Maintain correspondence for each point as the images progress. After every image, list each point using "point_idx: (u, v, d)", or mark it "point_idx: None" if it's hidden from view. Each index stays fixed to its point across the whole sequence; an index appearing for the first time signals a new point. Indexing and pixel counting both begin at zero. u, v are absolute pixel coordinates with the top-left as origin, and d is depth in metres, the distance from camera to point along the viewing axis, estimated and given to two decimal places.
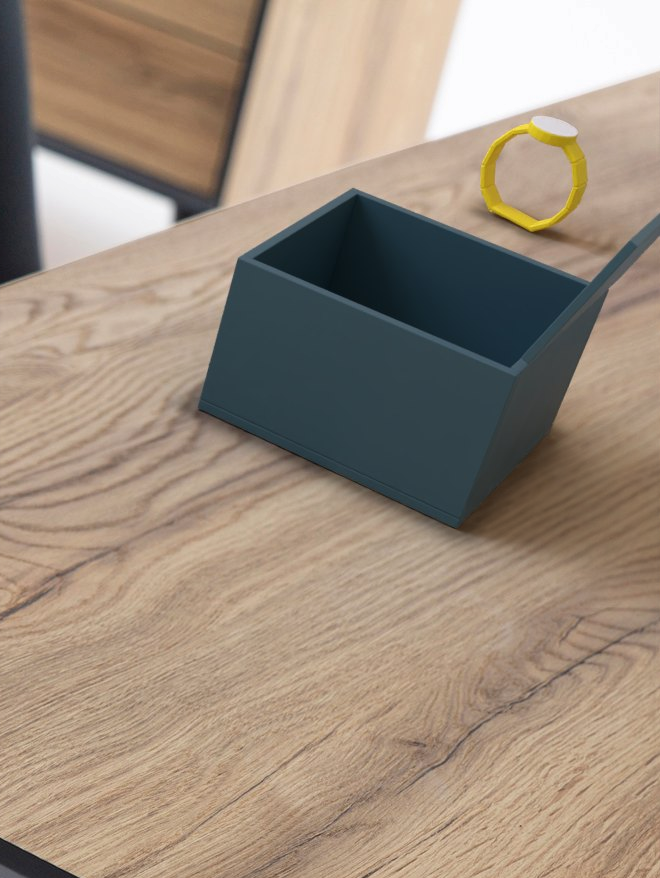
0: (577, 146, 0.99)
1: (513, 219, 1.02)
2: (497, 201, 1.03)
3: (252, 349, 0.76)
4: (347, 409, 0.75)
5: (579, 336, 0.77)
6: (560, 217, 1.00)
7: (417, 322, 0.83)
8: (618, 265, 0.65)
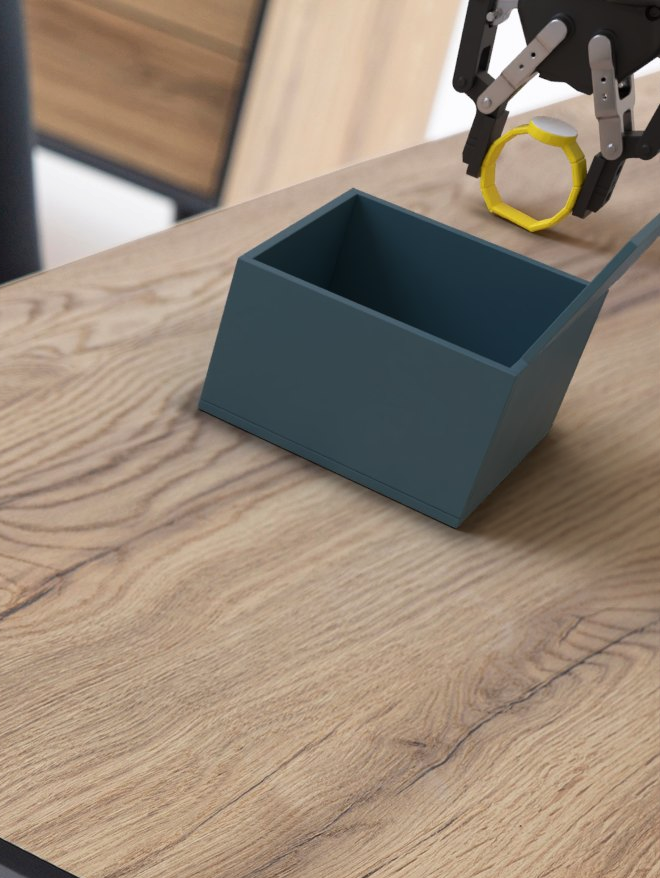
0: (577, 146, 0.99)
1: (513, 219, 1.02)
2: (497, 201, 1.03)
3: (252, 349, 0.76)
4: (347, 409, 0.75)
5: (579, 336, 0.77)
6: (560, 217, 1.00)
7: (417, 322, 0.83)
8: (618, 265, 0.65)
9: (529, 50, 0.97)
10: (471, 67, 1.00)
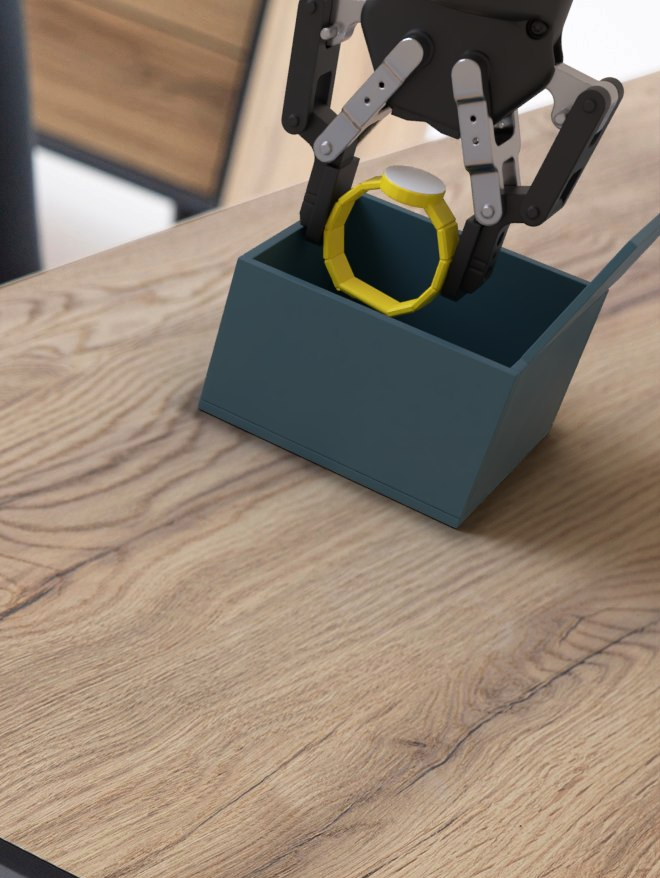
0: (445, 206, 0.74)
1: (366, 301, 0.77)
2: (347, 276, 0.78)
3: (252, 349, 0.76)
4: (347, 409, 0.75)
5: (579, 336, 0.77)
6: (425, 300, 0.75)
7: (417, 322, 0.83)
8: (618, 265, 0.65)
9: (376, 79, 0.72)
10: (304, 101, 0.75)
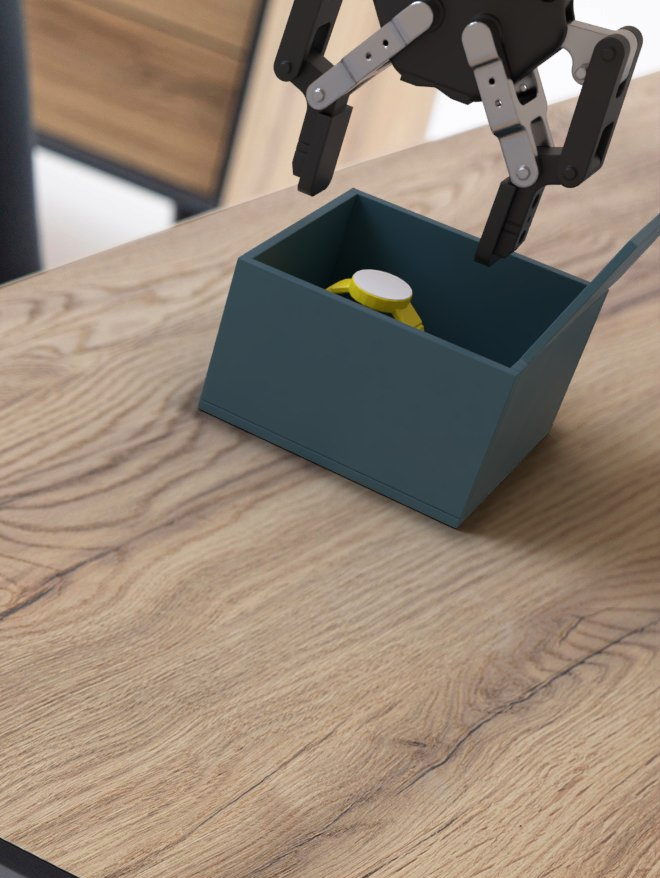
0: (412, 310, 0.77)
1: None
2: None
3: (252, 349, 0.76)
4: (347, 409, 0.75)
5: (579, 336, 0.77)
6: None
7: None
8: (618, 265, 0.65)
9: (381, 36, 0.71)
10: (300, 49, 0.74)
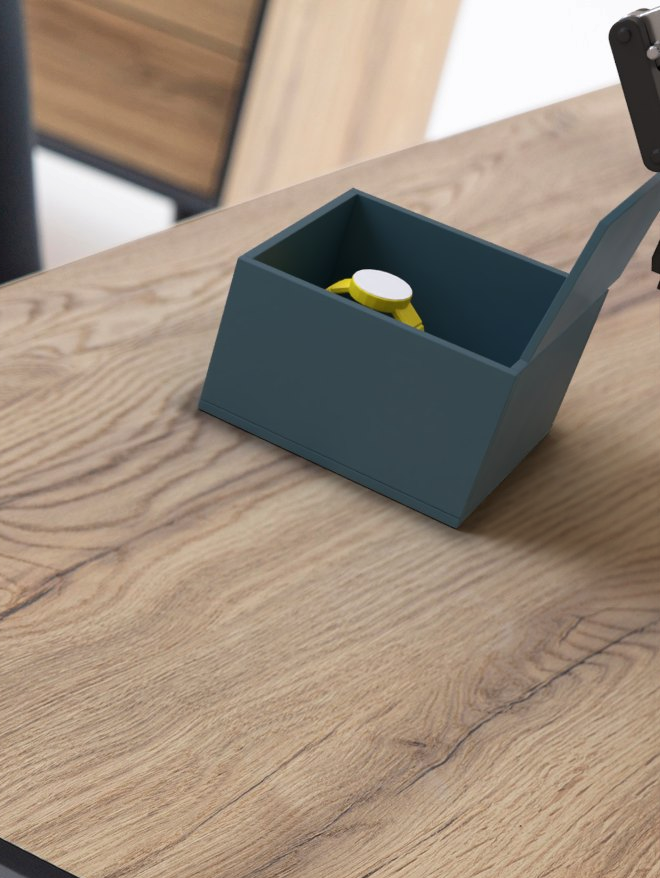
0: (412, 310, 0.77)
1: None
2: None
3: (252, 349, 0.76)
4: (347, 409, 0.75)
5: (579, 336, 0.77)
6: None
7: None
8: (594, 247, 0.66)
9: None
10: None
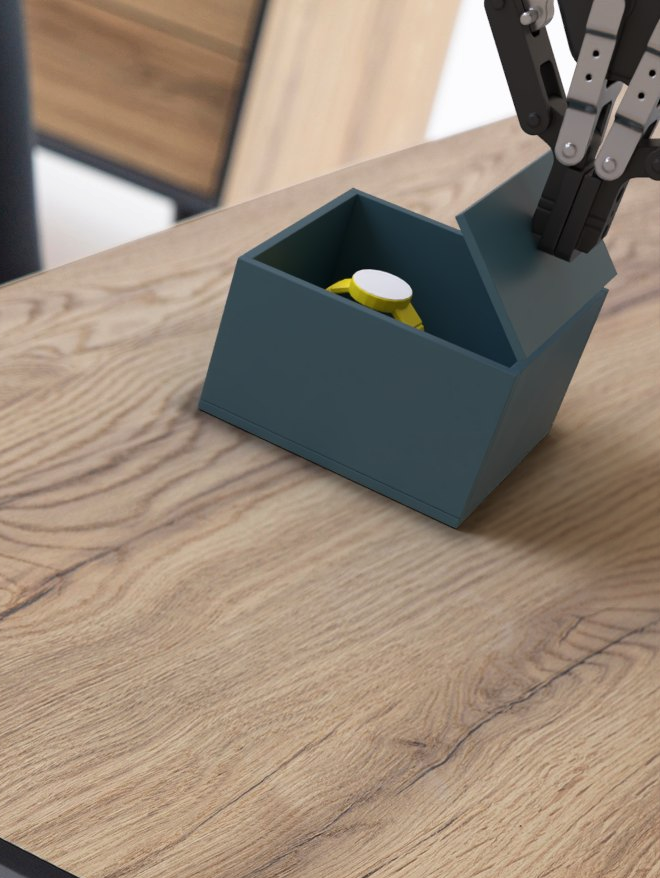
0: (412, 310, 0.77)
1: None
2: None
3: (252, 349, 0.76)
4: (347, 409, 0.75)
5: (579, 336, 0.77)
6: None
7: None
8: (472, 236, 0.68)
9: (587, 51, 0.67)
10: (535, 94, 0.69)
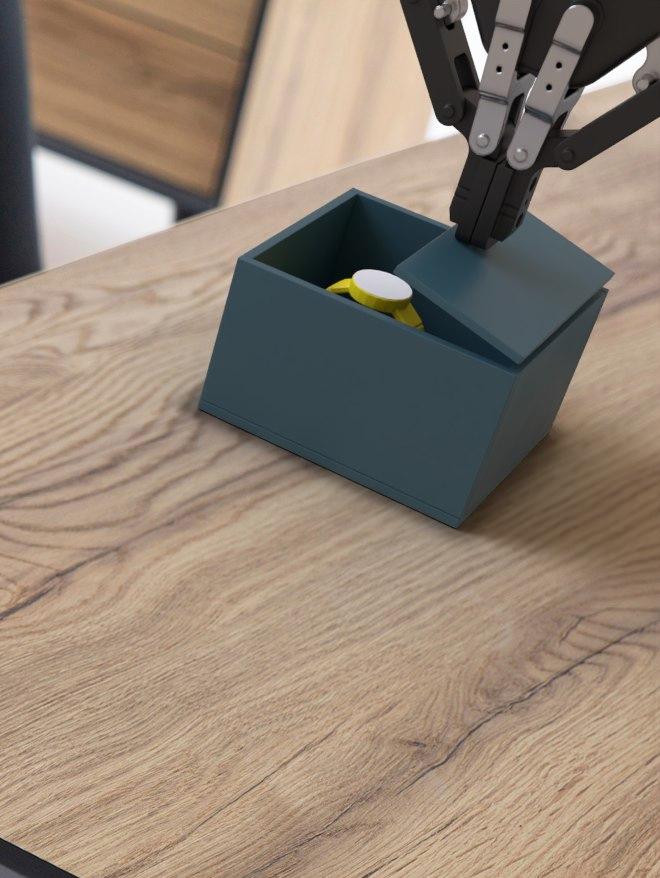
0: (412, 310, 0.77)
1: None
2: None
3: (252, 349, 0.76)
4: (347, 409, 0.75)
5: (579, 336, 0.77)
6: None
7: None
8: (416, 280, 0.70)
9: (497, 44, 0.68)
10: (450, 86, 0.71)
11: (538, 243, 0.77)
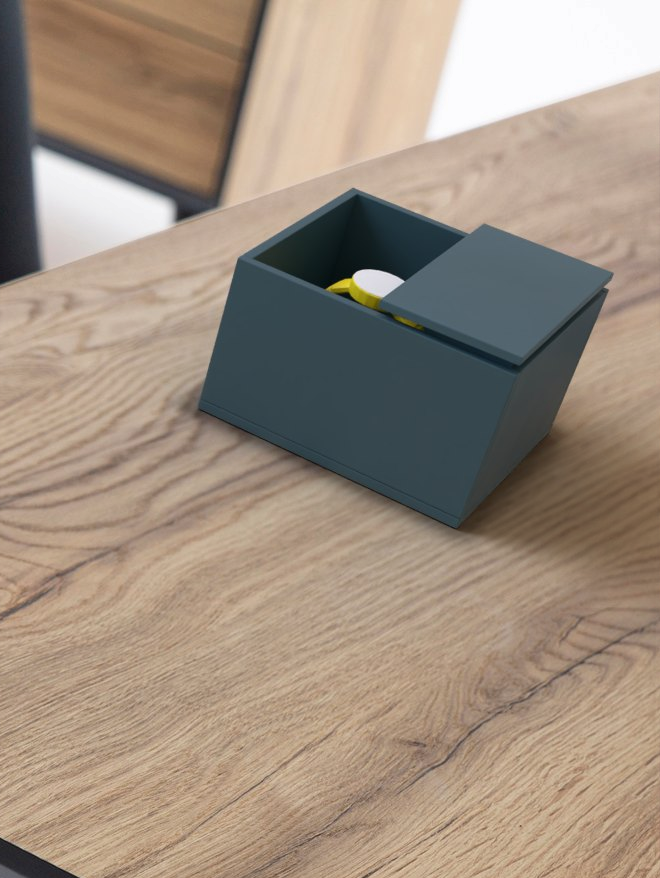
0: None
1: None
2: None
3: (252, 349, 0.76)
4: (347, 409, 0.75)
5: (579, 336, 0.77)
6: None
7: None
8: (401, 309, 0.71)
9: None
10: None
11: (528, 260, 0.77)
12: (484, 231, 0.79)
